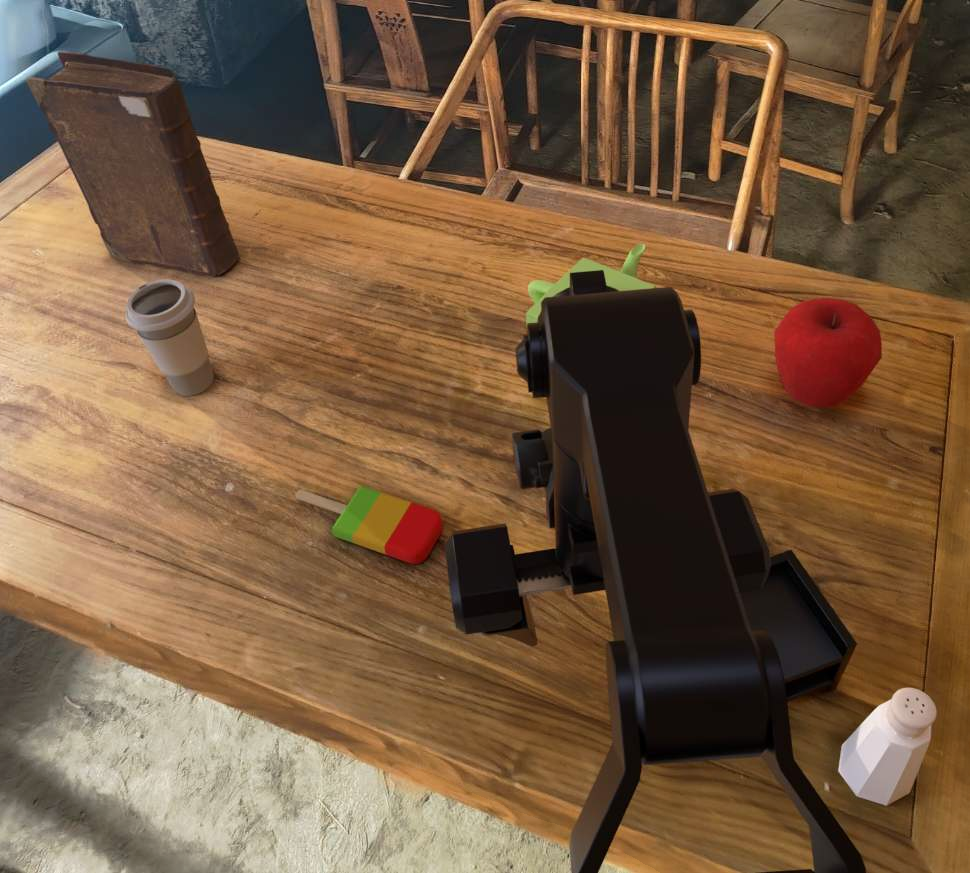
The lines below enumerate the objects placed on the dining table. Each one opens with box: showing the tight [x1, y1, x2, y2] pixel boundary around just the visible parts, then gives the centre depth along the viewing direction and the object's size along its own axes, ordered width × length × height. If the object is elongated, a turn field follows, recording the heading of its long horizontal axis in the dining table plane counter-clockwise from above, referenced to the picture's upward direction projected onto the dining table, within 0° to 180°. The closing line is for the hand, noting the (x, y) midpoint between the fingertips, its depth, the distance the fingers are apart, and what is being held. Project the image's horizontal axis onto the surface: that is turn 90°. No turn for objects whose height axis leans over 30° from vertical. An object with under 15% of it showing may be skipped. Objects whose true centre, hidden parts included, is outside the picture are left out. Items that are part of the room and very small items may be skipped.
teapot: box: [525, 243, 657, 324], centre depth 96 cm, size 15×13×11 cm
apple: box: [773, 297, 883, 409], centre depth 90 cm, size 10×10×11 cm
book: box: [26, 50, 240, 278], centre depth 108 cm, size 17×7×25 cm, turn 64°
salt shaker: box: [837, 687, 937, 807], centre depth 65 cm, size 5×5×11 cm
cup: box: [125, 278, 215, 397], centre depth 98 cm, size 7×7×12 cm
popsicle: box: [294, 485, 444, 565], centre depth 87 cm, size 6×15×2 cm, turn 66°
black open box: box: [740, 549, 858, 703], centre depth 73 cm, size 9×14×8 cm, turn 110°
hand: (600, 628), depth 62 cm, fingers open, 9 cm apart
